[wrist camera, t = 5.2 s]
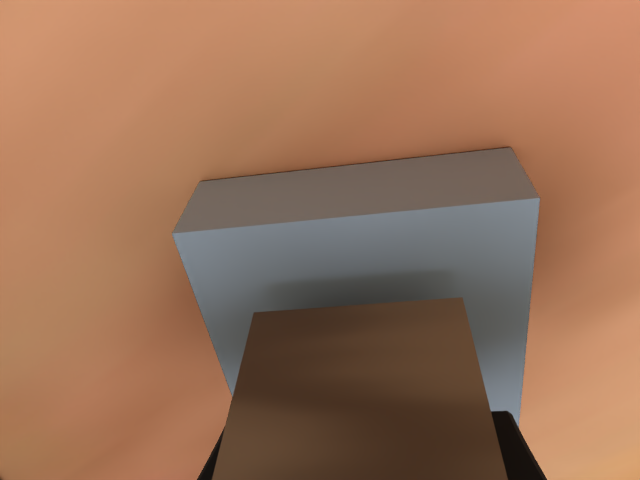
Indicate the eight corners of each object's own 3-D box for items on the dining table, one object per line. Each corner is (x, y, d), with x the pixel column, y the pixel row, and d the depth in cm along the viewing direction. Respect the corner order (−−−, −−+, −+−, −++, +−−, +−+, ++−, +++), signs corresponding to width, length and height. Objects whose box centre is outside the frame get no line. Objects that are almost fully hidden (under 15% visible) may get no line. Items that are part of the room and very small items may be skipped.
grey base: (263, 382, 18) (250, 446, 16) (199, 181, 14) (171, 233, 12) (498, 370, 17) (517, 436, 15) (511, 147, 13) (539, 197, 11)
